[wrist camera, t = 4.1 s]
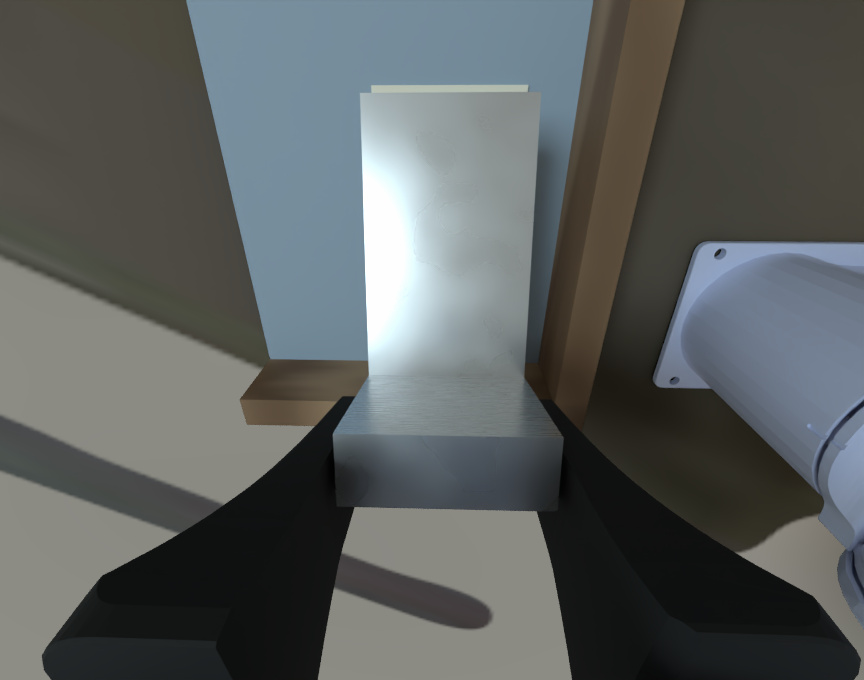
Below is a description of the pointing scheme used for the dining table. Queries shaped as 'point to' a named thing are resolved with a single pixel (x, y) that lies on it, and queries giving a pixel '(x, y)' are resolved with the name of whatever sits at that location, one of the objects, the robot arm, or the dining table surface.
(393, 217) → the bracket
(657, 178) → the dining table surface
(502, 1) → the mat
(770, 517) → the dining table surface
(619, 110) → the walls
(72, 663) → the robot arm
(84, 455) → the dining table surface
